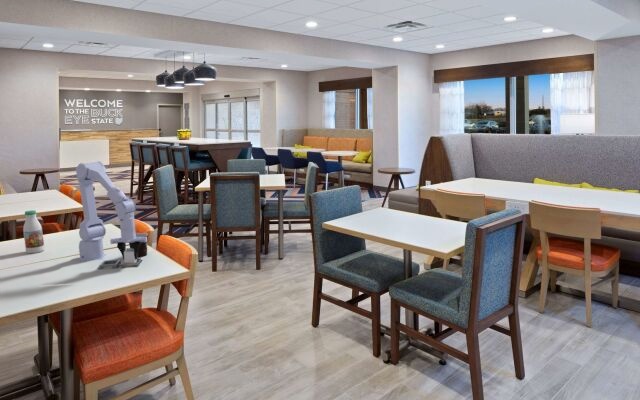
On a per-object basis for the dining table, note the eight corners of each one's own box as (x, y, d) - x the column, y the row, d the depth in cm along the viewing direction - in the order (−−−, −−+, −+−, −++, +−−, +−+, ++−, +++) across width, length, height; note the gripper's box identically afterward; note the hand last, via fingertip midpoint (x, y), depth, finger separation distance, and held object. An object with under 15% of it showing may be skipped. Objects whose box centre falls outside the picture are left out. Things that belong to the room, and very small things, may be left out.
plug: (124, 265, 197) (123, 249, 196) (127, 262, 201) (125, 247, 200) (134, 265, 198) (133, 249, 196) (136, 262, 201) (135, 246, 200)
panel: (97, 270, 193) (97, 266, 193) (104, 263, 203) (104, 259, 202) (137, 268, 195) (137, 264, 195) (142, 261, 205) (142, 257, 205)
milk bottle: (22, 252, 222) (16, 212, 218) (37, 248, 229) (32, 209, 225) (33, 254, 219) (28, 213, 215) (48, 250, 226) (43, 210, 222)
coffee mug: (142, 259, 207) (140, 238, 205) (125, 259, 209) (123, 237, 207) (156, 252, 218) (155, 231, 216) (140, 251, 220) (138, 231, 218)
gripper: (107, 231, 192) (110, 262, 194) (143, 229, 194) (146, 260, 196) (111, 227, 199) (114, 258, 201) (147, 225, 201) (149, 255, 203)
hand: (130, 259), depth 199 cm, fingers closed on plug, 4 cm apart
